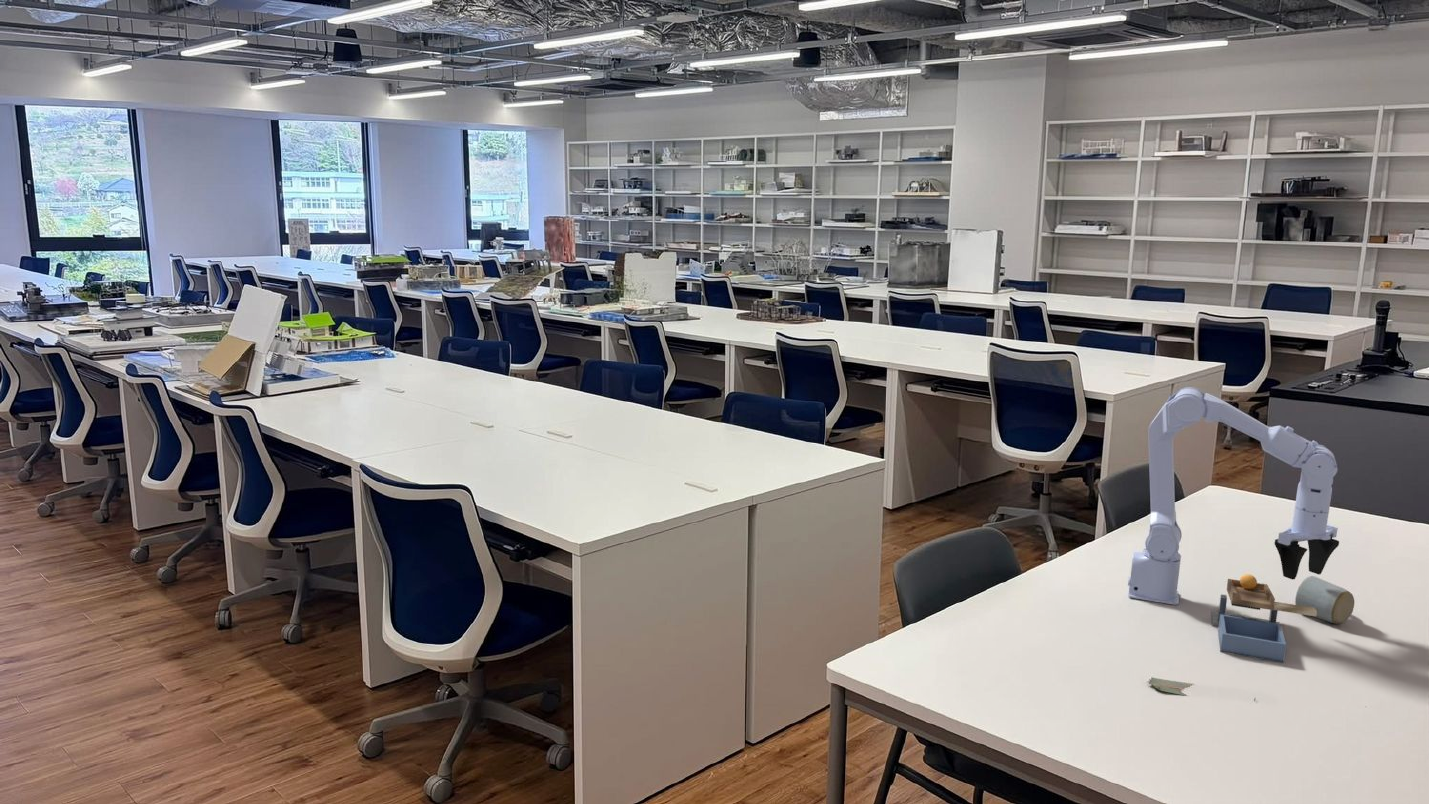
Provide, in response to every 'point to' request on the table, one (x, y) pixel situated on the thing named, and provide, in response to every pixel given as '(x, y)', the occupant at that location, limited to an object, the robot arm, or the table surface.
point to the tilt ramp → (1262, 599)
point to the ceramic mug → (1325, 599)
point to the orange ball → (1248, 581)
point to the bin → (1251, 638)
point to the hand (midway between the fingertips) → (1302, 575)
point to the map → (1169, 685)
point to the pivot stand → (1222, 609)
